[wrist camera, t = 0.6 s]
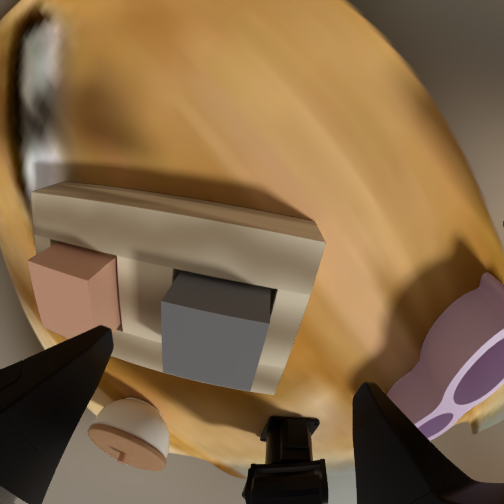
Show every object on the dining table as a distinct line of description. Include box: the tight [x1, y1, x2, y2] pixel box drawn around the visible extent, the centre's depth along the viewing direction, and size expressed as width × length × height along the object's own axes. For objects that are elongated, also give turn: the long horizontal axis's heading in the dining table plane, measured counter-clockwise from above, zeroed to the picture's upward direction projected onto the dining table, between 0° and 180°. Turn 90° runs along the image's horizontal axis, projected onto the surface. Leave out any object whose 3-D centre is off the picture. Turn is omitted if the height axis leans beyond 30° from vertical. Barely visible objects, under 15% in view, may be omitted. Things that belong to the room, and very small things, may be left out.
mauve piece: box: [387, 272, 504, 441], centre depth 21 cm, size 20×12×7 cm, turn 155°
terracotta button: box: [28, 241, 122, 339], centre depth 17 cm, size 6×6×4 cm
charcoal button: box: [161, 270, 271, 391], centre depth 17 cm, size 6×6×4 cm
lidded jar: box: [88, 397, 170, 471], centre depth 27 cm, size 11×11×9 cm
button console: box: [31, 181, 326, 395], centre depth 21 cm, size 14×22×4 cm, turn 80°
